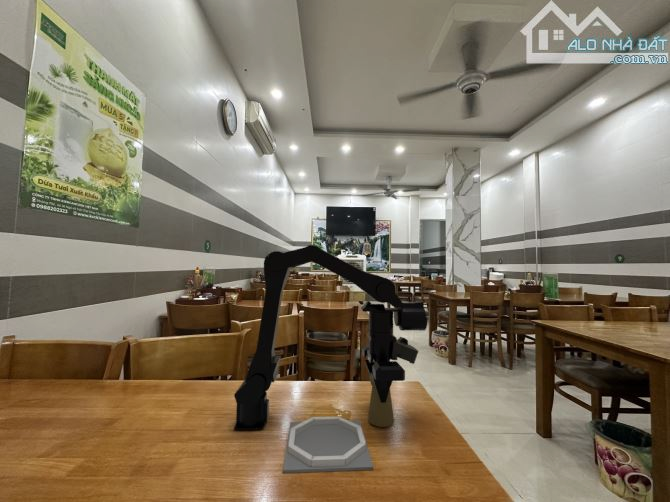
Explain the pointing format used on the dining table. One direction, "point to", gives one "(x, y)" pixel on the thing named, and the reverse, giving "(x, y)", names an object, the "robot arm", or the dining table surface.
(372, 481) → the dining table surface
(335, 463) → the collar plate
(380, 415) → the olive brown pawn
